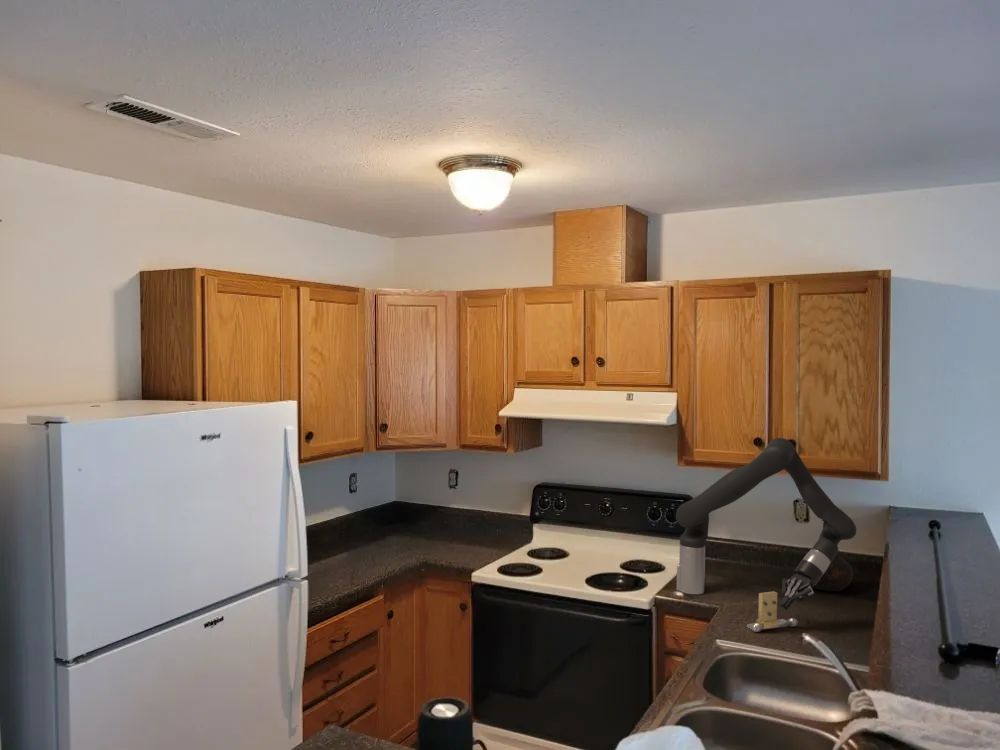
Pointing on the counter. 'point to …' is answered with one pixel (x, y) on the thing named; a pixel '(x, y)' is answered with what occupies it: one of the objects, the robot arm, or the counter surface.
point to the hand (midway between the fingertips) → (782, 607)
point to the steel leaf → (782, 623)
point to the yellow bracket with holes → (767, 610)
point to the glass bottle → (835, 574)
